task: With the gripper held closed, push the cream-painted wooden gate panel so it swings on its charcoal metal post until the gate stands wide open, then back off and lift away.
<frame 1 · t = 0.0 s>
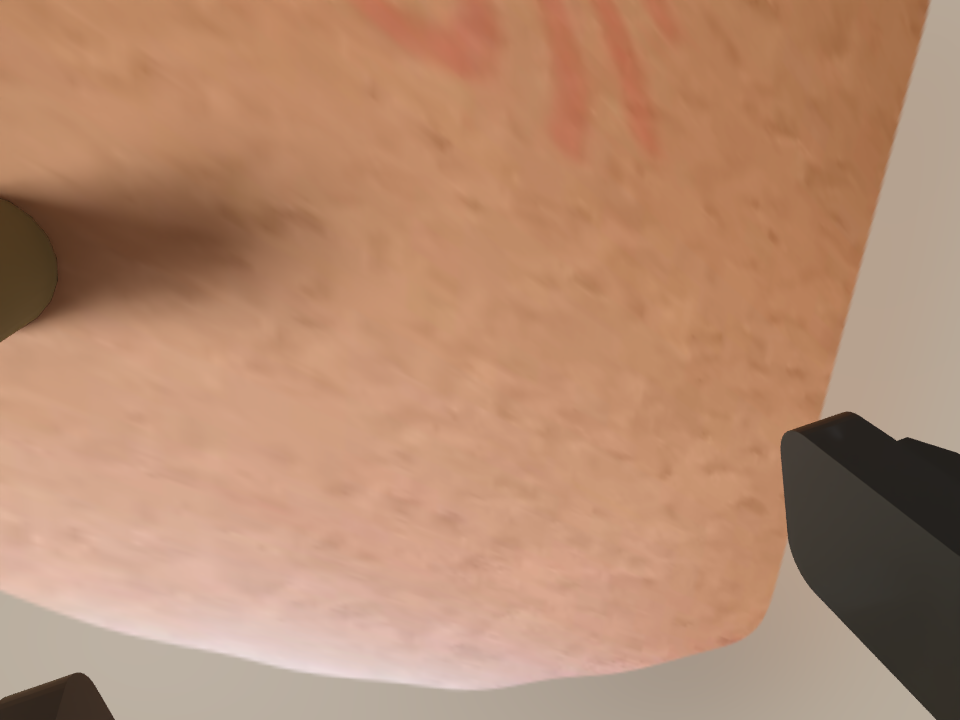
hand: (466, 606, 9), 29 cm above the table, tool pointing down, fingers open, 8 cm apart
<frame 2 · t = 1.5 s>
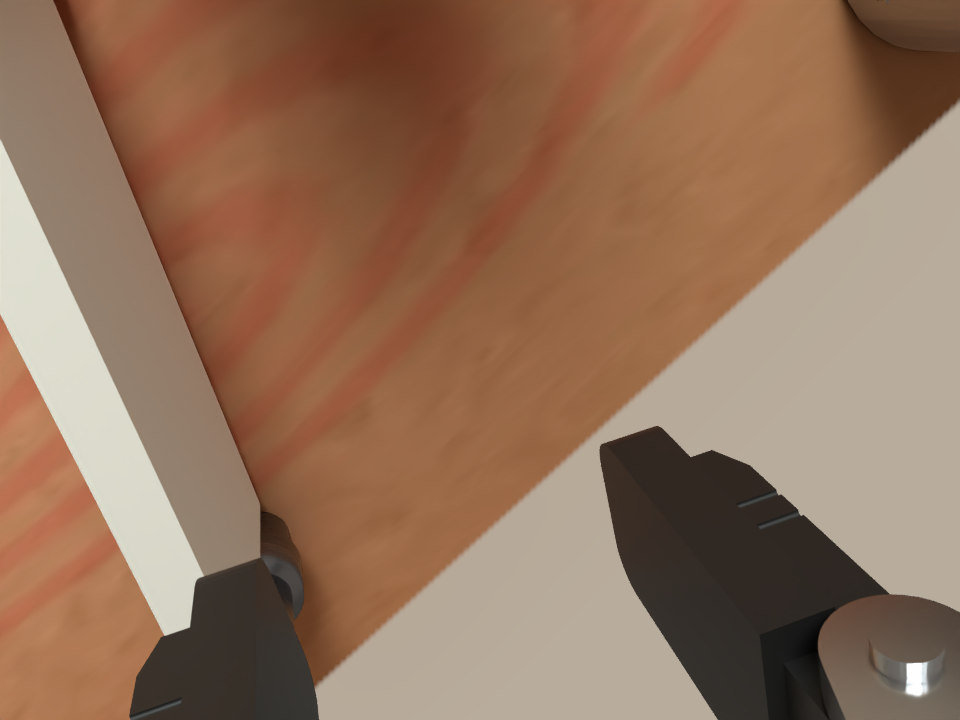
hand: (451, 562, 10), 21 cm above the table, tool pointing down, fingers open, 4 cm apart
gate post: (258, 537, 33), on the table
gate: (109, 306, 23), point 6 cm above the table, hinge at 0.0°
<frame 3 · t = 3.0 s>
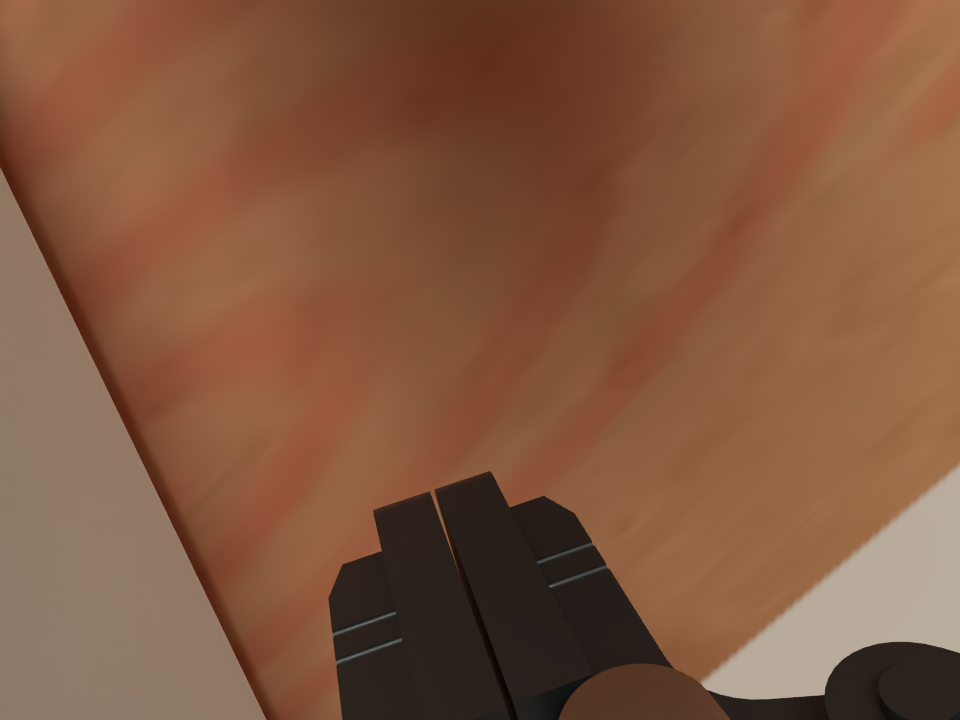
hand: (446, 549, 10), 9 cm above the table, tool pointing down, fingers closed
gate: (7, 579, 12), point 6 cm above the table, hinge at 0.0°
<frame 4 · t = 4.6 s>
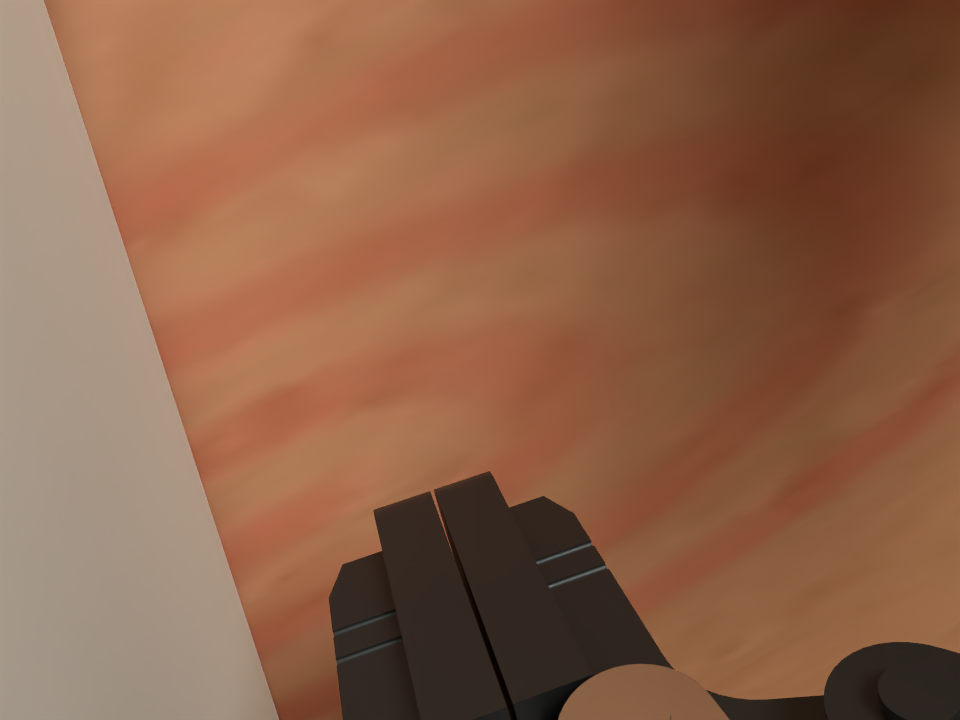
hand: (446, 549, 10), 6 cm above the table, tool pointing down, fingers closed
gate: (83, 599, 10), point 6 cm above the table, hinge at 14.9°, touching hand
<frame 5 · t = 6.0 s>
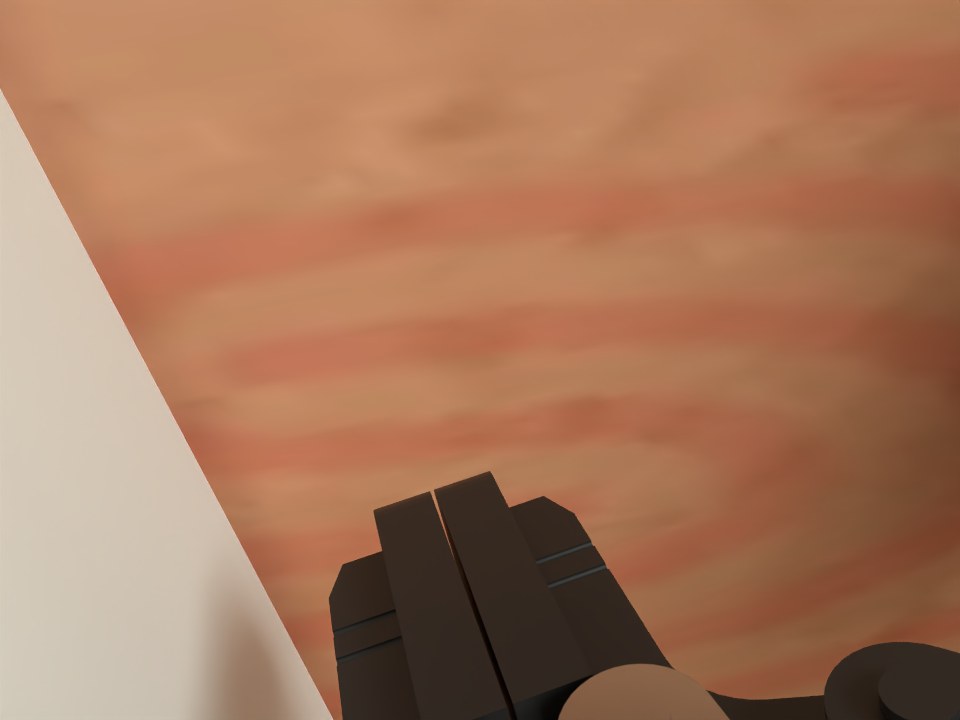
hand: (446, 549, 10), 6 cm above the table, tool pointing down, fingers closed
gate: (74, 612, 10), point 6 cm above the table, hinge at 46.8°, touching hand
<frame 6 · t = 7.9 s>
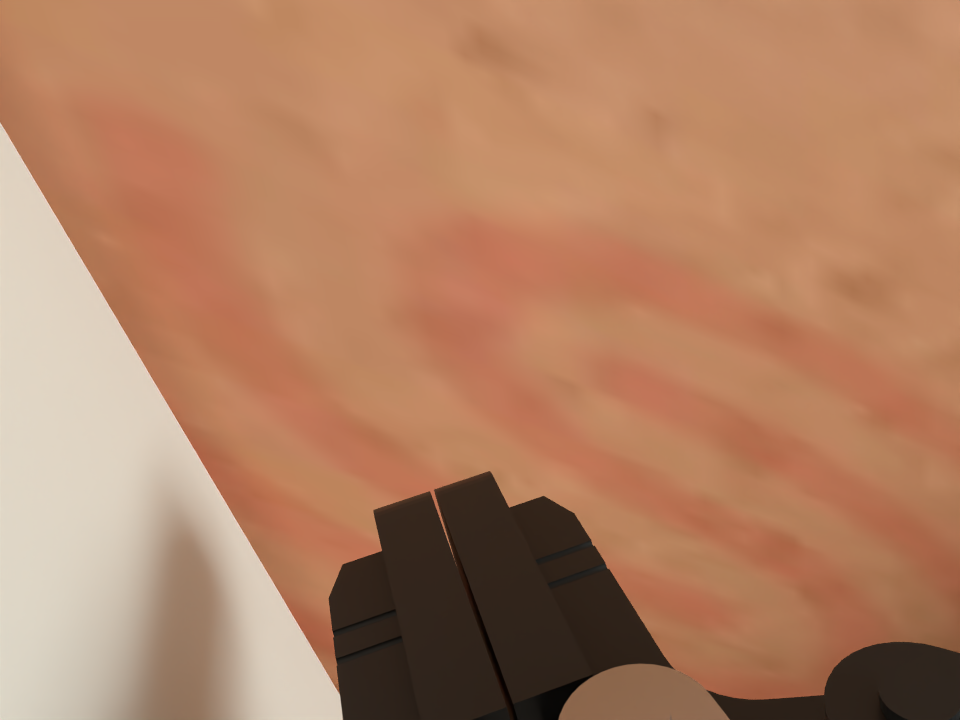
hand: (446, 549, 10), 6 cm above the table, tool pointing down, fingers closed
gate: (74, 622, 10), point 6 cm above the table, hinge at 81.3°, touching hand
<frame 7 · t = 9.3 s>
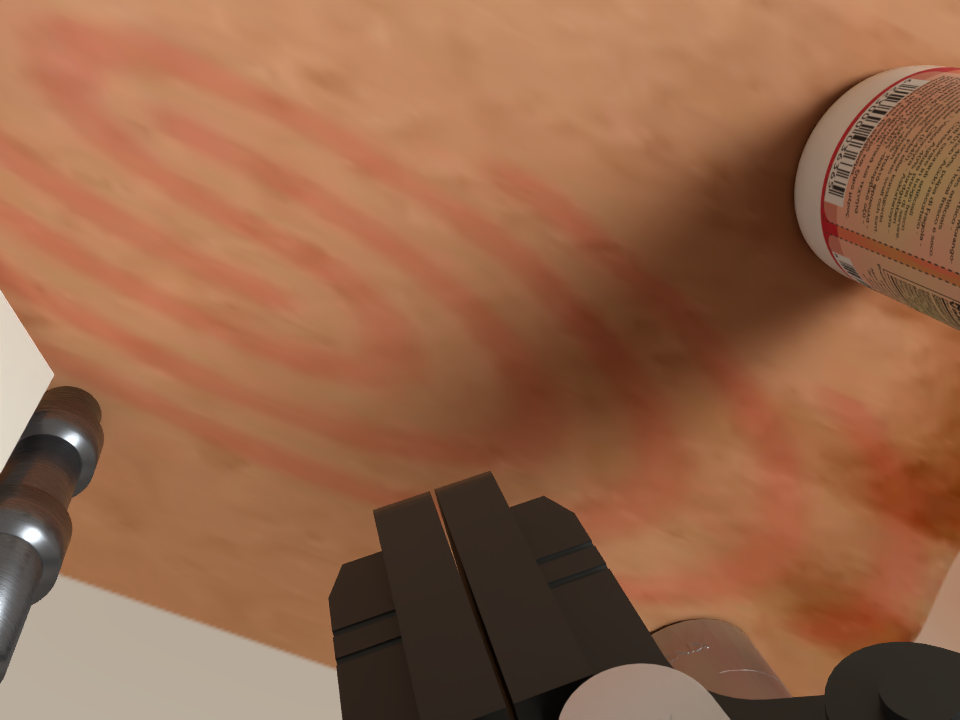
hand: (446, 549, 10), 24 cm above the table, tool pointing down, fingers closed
gate post: (68, 413, 33), on the table
fruit juice: (878, 172, 38), on the table
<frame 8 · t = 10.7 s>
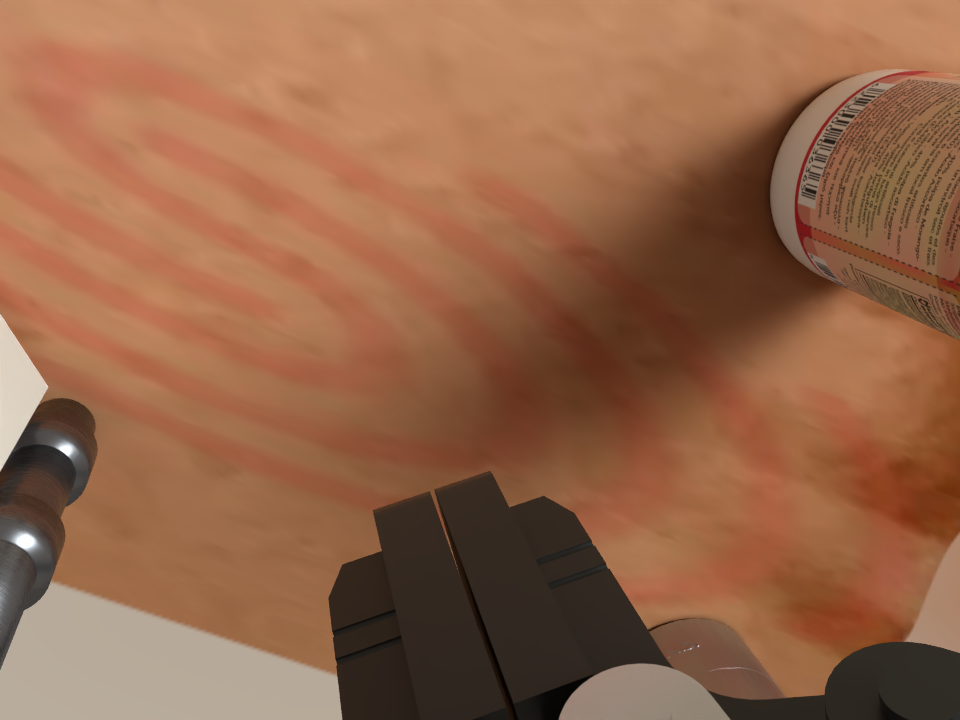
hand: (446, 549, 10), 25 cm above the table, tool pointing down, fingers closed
gate post: (63, 425, 34), on the table
fruit juice: (853, 174, 39), on the table
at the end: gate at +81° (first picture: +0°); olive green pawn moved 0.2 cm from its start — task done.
